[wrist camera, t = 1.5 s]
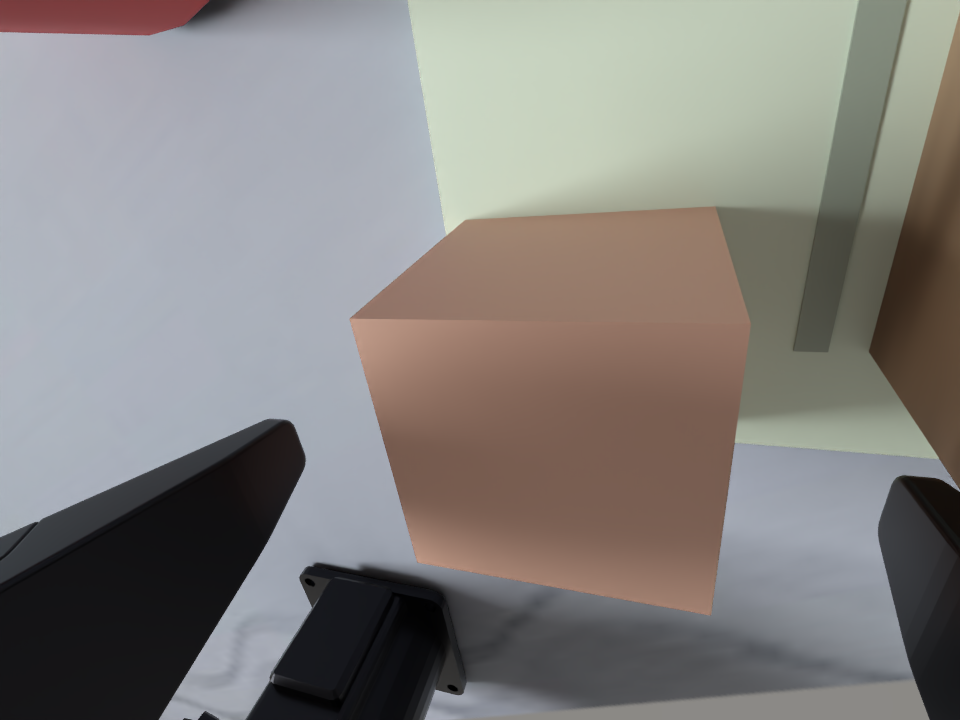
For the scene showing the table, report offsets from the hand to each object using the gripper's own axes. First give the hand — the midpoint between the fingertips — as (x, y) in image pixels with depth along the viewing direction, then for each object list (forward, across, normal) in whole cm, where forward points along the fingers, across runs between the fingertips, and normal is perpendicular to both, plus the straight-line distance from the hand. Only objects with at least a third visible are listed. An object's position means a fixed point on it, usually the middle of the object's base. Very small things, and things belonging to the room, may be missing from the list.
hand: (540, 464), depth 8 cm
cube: (+5, 0, 0) cm, 5 cm away
